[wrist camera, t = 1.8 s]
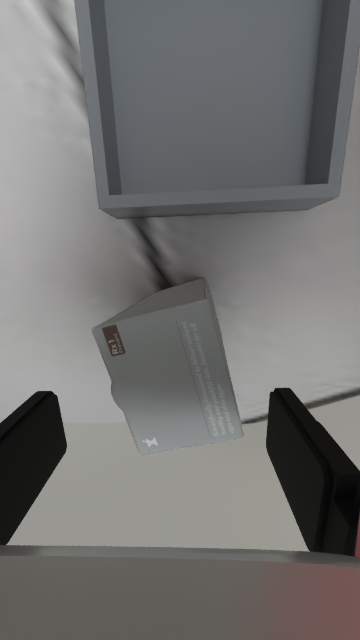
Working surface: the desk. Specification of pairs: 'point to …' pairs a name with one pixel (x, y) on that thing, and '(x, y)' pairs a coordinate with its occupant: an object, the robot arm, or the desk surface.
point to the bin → (217, 103)
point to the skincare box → (171, 370)
